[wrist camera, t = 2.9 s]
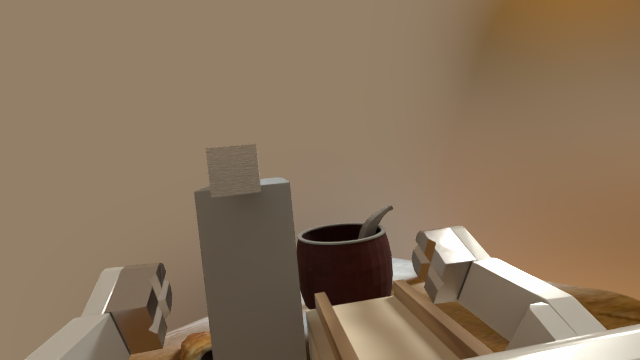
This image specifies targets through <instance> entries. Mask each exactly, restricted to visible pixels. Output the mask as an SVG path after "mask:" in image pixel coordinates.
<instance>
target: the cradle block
mask: <svg viewBox="0 0 640 360" xmlns="http://www.w3.org/2000/svg"><path fill="white" fill-rule="evenodd" d="M393 286H394V296H389V297H383V298H377V299H371V300H365V301H359V302H353V303H347V304H341V305H335V306H332V305H331V303H330V301H329V299H328V297H327V295H326V294H325V292H321V293H315V304H316V309H312V310H306V319H307V329H308V340H309V350H310V360H463V359H468V358H473V357H478V356H483V355H488V354H492V353H494V352H493V351H491V350H490V349H489V348H488V347H486V346H485V345H484V344H483V343H481V342H480V341H479V340H478V339H476V338H475V337H474V336H473V335H471V334H470V333H469V332H468V331H466V330H465V329H464V328H463V327H461V326H460V325H459V324H458V323H456V322H455V321H454V320H453V319H451V318H450V317H449V316H448V315H446V314H445V313H444V312H443V311H441V310H440V309H439V308H438V307H436V306H435V305H434V304H433V303H431V302H430V301H429V300H428V299H426V298H425V297H424V296H423V295H421V294H420V293H419V292H418V291H416V290H415V289H414V288H413V287H411V286H410V285H409V284H408V283H406V282H405V281H404V280H396V281H393Z"/></svg>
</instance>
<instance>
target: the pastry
mask: <svg viewBox="0 0 640 360" xmlns="http://www.w3.org/2000/svg"><path fill="white" fill-rule="evenodd" d="M179 358H180V360H213V353H212V345H211V336H210V332H201V333H193V334H191V335H189V336H188V337H187V338H186V339H185V341H183V342H182V345H181V352H180V357H179Z"/></svg>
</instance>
